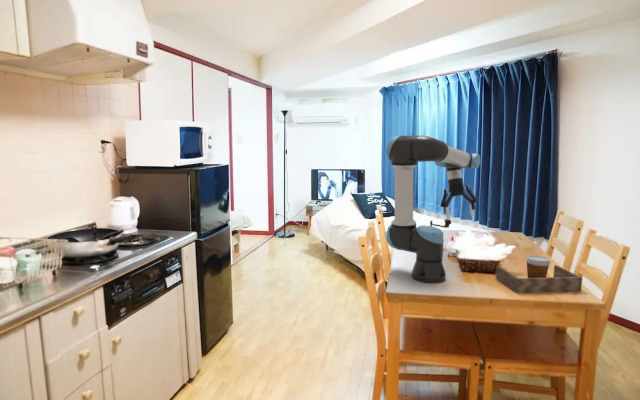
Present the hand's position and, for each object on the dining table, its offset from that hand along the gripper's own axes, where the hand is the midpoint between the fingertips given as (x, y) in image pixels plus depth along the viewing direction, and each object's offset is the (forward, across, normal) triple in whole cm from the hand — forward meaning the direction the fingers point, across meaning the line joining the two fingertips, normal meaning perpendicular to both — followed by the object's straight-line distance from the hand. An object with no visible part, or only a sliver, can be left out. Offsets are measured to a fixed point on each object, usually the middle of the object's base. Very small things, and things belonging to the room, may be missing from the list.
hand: (460, 217), depth 220 cm
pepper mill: (+16, +22, -8) cm, 28 cm away
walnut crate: (+34, -38, +17) cm, 53 cm away
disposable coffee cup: (+34, -38, +17) cm, 53 cm away
